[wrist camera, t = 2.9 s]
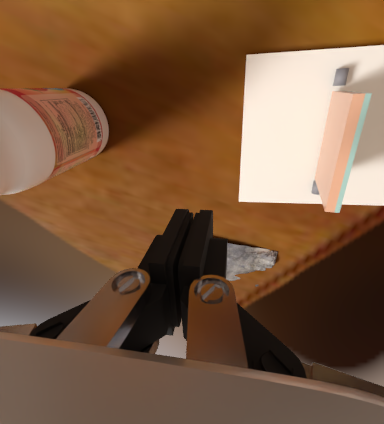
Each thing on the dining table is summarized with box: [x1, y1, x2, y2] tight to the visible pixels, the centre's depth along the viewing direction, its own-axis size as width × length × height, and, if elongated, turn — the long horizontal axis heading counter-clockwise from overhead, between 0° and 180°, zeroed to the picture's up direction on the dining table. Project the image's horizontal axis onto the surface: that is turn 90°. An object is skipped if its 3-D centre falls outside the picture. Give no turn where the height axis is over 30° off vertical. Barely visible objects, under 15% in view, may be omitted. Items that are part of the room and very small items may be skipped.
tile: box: [315, 91, 372, 213], centre depth 24 cm, size 10×10×1 cm
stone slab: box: [226, 243, 278, 286], centre depth 42 cm, size 18×2×10 cm
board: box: [239, 45, 384, 205], centre depth 29 cm, size 18×20×2 cm
